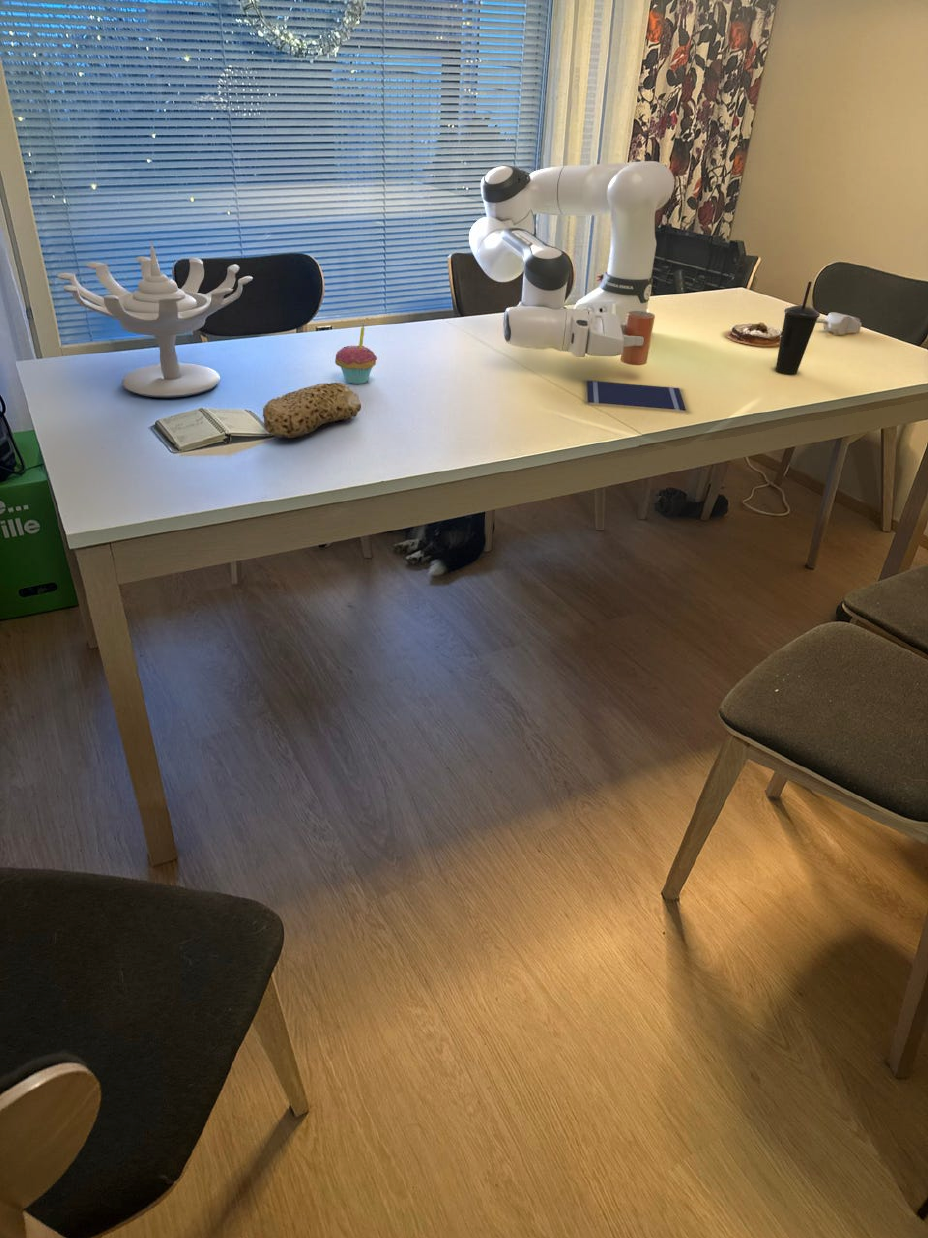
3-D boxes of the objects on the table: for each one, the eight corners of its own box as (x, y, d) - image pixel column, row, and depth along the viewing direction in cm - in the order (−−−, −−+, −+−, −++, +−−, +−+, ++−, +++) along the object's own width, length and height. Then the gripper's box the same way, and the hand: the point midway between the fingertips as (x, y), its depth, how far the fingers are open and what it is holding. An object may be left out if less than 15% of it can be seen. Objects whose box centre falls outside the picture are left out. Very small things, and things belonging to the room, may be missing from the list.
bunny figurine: (872, 319, 225) (840, 317, 217) (865, 338, 228) (832, 338, 220) (843, 310, 231) (810, 309, 223) (836, 329, 234) (803, 328, 226)
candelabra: (104, 427, 148) (71, 265, 133) (65, 370, 172) (33, 226, 157) (286, 400, 164) (275, 252, 149) (226, 351, 188) (212, 219, 173)
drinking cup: (805, 378, 192) (831, 287, 181) (771, 374, 193) (794, 283, 182) (800, 368, 198) (825, 279, 187) (767, 365, 199) (790, 276, 188)
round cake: (715, 331, 222) (719, 315, 220) (764, 329, 226) (768, 314, 223) (744, 347, 210) (748, 330, 208) (796, 346, 214) (800, 329, 212)
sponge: (332, 412, 163) (238, 410, 150) (342, 374, 159) (246, 369, 146) (367, 446, 156) (272, 447, 143) (378, 407, 152) (281, 406, 139)
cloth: (587, 404, 171) (587, 402, 170) (586, 382, 182) (586, 380, 182) (685, 412, 169) (686, 410, 169) (678, 389, 181) (679, 387, 181)
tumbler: (615, 360, 182) (622, 313, 177) (628, 355, 186) (635, 308, 181) (639, 367, 180) (647, 319, 174) (651, 361, 184) (659, 314, 178)
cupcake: (383, 377, 178) (382, 320, 171) (366, 389, 171) (365, 330, 165) (346, 371, 180) (344, 314, 174) (328, 383, 174) (326, 324, 167)
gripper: (575, 332, 191) (635, 337, 190) (576, 359, 174) (643, 364, 173) (578, 304, 187) (640, 308, 187) (580, 328, 170) (648, 333, 170)
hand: (641, 336), depth 180 cm, fingers closed on tumbler, 6 cm apart
